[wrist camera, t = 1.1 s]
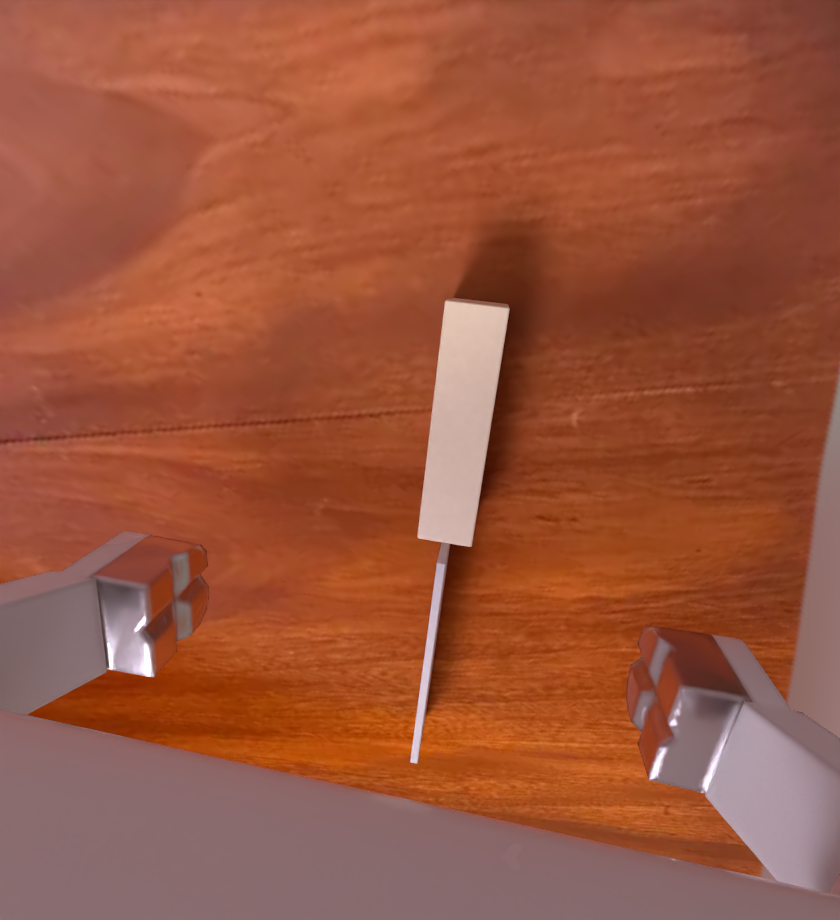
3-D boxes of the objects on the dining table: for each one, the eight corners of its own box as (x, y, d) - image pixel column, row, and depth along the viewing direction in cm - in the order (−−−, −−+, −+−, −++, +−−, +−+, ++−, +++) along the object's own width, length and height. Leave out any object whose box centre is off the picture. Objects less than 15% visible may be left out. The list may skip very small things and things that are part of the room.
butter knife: (452, 297, 22) (444, 299, 19) (508, 304, 21) (510, 307, 19) (401, 713, 30) (391, 758, 27) (442, 721, 29) (436, 768, 27)
